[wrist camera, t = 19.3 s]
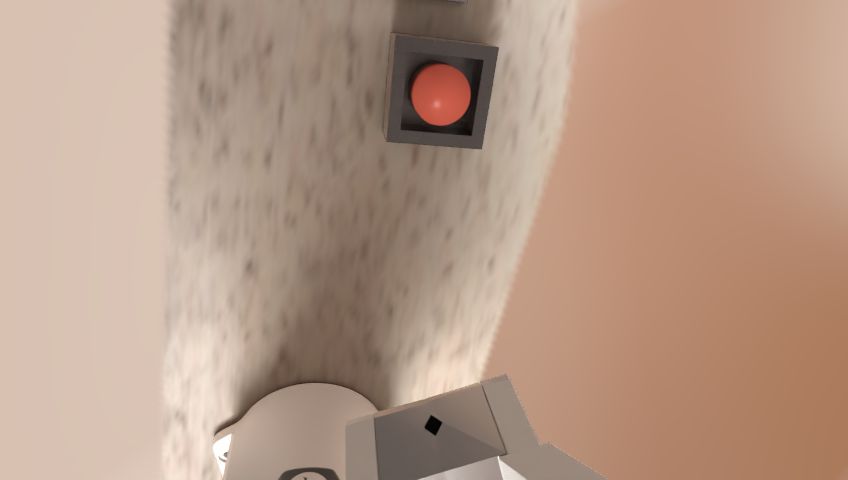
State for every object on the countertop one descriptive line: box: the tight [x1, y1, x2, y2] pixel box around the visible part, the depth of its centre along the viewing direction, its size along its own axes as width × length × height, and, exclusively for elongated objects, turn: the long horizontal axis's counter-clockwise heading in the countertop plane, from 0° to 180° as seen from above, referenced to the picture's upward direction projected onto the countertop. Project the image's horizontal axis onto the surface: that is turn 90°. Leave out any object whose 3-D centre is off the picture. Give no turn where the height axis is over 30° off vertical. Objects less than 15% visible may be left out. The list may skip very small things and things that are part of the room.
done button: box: [409, 62, 471, 126], centre depth 35 cm, size 4×4×2 cm
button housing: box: [383, 32, 499, 149], centre depth 35 cm, size 7×7×4 cm
